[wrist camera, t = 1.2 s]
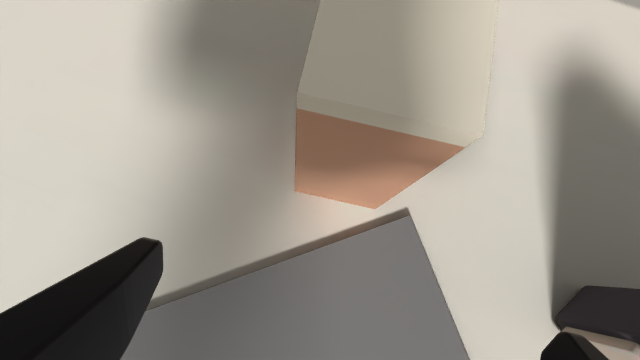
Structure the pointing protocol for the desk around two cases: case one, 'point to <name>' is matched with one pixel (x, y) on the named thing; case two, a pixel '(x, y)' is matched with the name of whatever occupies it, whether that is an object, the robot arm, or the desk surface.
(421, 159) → the peach block
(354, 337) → the grey mat
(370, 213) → the desk surface
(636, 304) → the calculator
